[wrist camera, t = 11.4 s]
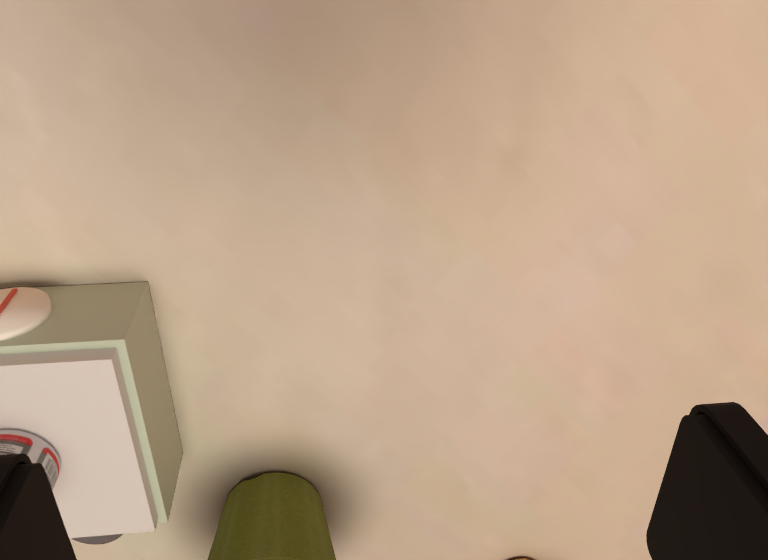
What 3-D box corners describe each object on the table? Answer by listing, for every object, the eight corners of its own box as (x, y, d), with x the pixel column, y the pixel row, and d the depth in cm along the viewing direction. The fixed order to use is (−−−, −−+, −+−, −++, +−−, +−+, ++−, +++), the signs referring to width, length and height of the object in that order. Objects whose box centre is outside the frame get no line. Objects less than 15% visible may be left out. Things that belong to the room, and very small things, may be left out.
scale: (-106, 284, 37) (-184, 357, 31) (145, 272, 39) (117, 340, 33) (-26, 468, 45) (-78, 556, 39) (182, 452, 46) (164, 535, 40)
